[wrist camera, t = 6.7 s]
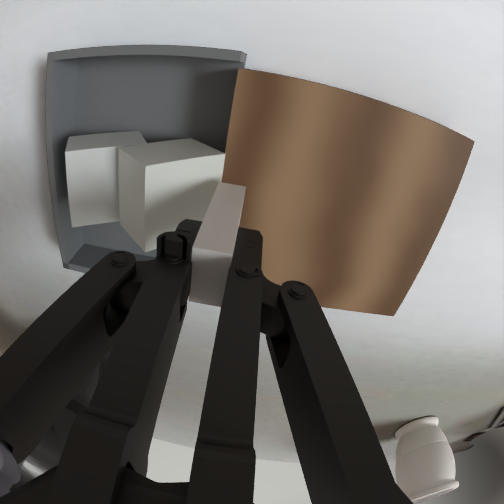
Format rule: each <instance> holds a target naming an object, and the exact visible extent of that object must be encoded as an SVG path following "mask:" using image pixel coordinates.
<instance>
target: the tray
mask: <svg viewBox="0 0 504 504" xmlns="http://www.w3.org/2000/svg"><path fill="white" fill-rule="evenodd" d="M246 56H247V54H246V53H244V52H242V51H235V50H227V49H218V48H207V47H194V46H176V45H120V46H102V47H90V48H80V49H71V50H63V51H56V52H50V53H48V58H47V72H46V100H45V119H46V147H47V162H48V173H49V183H50V192H51V200H52V207H53V214H54V220H55V226H56V232H57V238H58V243H59V248H60V253H61V258H62V262H63V267H64V268H67V269H71V270H75V271H79V272H83V273H87V272H88V271H89V270H90V269H91V268H92V267H93V266H94V265H96V264H97V263H98V262H99V261H100V260H101V259H102V258H104V257H105V256H106V255H107V254H109V253H111V252H114V251H128V252H130V253H132V254H133V255H134V256H135V258H136V261H148V260H153V259H155V258H156V256H157V249H154V250H151V251H148V252H144V251H143V250H142V248H141V247H140V246H139V245H138V244H137V243H136V242H135V241H134V240H133V238H132V237H131V236H130V235H129V234H128V233H127V232H126V231H125V230H124V228H123V227H122V226H121V225H120V221H116V222H109V223H101V224H94V225H86V226H79V227H72V223H71V215H70V207H69V198H68V188H67V175H66V160H65V150H66V146H67V142H68V138H69V137H71V136H80V135H90V134H100V133H113V132H128V131H140V133H141V134H142V136H143V138H144V139H145V141H146V142H147V143H154V142H161V141H169V140H177V139H187V138H192V139H194V140H197V141H199V142H201V143H203V144H205V145H208V146H210V147H212V148H214V149H216V150H219V151H221V152H223V153H225V149H226V142H227V136H228V129H229V123H230V116H231V110H232V104H233V98H234V92H235V86H236V80H237V75H238V69H244V67H245V61H246Z"/></svg>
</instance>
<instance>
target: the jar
mask: <svg viewBox="0 0 504 504" xmlns="http://www.w3.org/2000/svg"><path fill="white" fill-rule="evenodd" d="M438 421H439V420H438V418H437V417H424V418H420V419H417V420H414V421H412V422H410V423H408V424H406V425H404V426H402V427H401V428H399V429H398V430H397V431H396V433H395V436H396V438H397V439H398V440H399V442H398V444H397V448H396V468H395V470H396V471H395V472H396V480H397V485H398V486H399V488H400V489H401V490H402V491H403V492H404V493H405V494H406V496H407V497H408V498H409V499H410V500H411V501H412V502H413V504H417V503H421V502H424V501H427V500H430V499H433V498H436V497H438V496H441V495H444V494H446V493H448V492H450V491H452V490H454V489H456V488H457V487H458V486H459V483H458V481H455V461H454V456H453V453H452V450H451V448H450V445H449V444H448V441H447V439H446V436H445V435H444V433H443V432H442V430H441V429H440V428H439V427H437V425H438Z"/></svg>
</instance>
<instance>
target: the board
mask: <svg viewBox="0 0 504 504" xmlns="http://www.w3.org/2000/svg"><path fill="white" fill-rule="evenodd" d="M474 142H475V141H473V140H471V139H469V138H467V137H465V136H463V135H461V134H459V133H457V132H455V131H453V130H451V129H449V128H447V127H445V126H443V125H440V124H438V123H436V122H434V121H431V120H429V119H426V118H424V117H422V116H419V115H417V114H414V113H411V112H409V111H406V110H404V109H401V108H398V107H395V106H393V105H390V104H387V103H384V102H381V101H378V100H375V99H372V98H369V97H366V96H363V95H360V94H356V93H353V92H350V91H346V90H343V89H339V88H335V87H332V86H328V85H324V84H320V83H316V82H312V81H307V80H303V79H299V78H294V77H289V76H284V75H279V74H274V73H268V72H263V71H257V70H250V69H238V75H237V80H236V86H235V92H234V98H233V104H232V110H231V116H230V123H229V129H228V136H227V142H226V149H225V161H224V168H223V175H222V183H228V184H234V185H240V186H245V187H246V190H245V195H244V201H243V206H242V212H241V218H240V223H239V227H242V228H247V229H253V230H258V231H260V233H261V235H262V236H263V248H262V267H261V269H262V272H263V275H264V276H265V277H266V278H267V279H268V280H270V281H271V282H273V283H275V284H278V285H280V286H281V285H282V283H284V282H286V281H291V280H294V281H300V282H302V283H305V284H307V285H308V286H309V287H311V289H312V290H313V292H314V294H315V296H316V298H317V300H318V302H319V304H320V306H321V307H326V308H334V309H341V310H348V311H356V312H364V313H372V314H380V315H388V316H394V315H395V313H396V312H397V310H398V308H399V306H400V305H401V303H402V301H403V300H404V298H405V296H406V294H407V293H408V291H409V289H410V287H411V286H412V284H413V282H414V280H415V278H416V276H417V275H418V273H419V271H420V269H421V267H422V265H423V263H424V261H425V259H426V257H427V255H428V253H429V251H430V249H431V247H432V245H433V243H434V241H435V239H436V237H437V235H438V233H439V231H440V228H441V226H442V224H443V222H444V220H445V217H446V215H447V213H448V210H449V208H450V206H451V203H452V201H453V199H454V196H455V194H456V191H457V189H458V186H459V184H460V181H461V179H462V176H463V173H464V171H465V168H466V165H467V162H468V159H469V157H470V154H471V151H472V148H473V145H474Z"/></svg>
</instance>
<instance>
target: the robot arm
mask: <svg viewBox="0 0 504 504" xmlns="http://www.w3.org/2000/svg"><path fill="white" fill-rule="evenodd" d="M245 190H246V187H245V186H240V185H234V184H228V183H222V182H219V183H218V186H217V188H216V190H215V193H214V195H213V197H212V200H211V202H210V205H209V207H208V210H207V212H206V214H205V217H204V219H203V221H197V220H191V219H185V220H183V221H182V222H180V223H179V224H178V226H177V228H176V230H175V231H169V232H164V233H162V234H160V235H159V236H158V237H157V256H156V258H155V259H153V260H148V261H136V258H135V256H134V255H133V254H132V253H130V252H128V251H114V252H111V253H109V254H107V255H106V256H105V257H104V258H102V259H101V260H100V261H99V262H98V263H97V264H96V265H94V266H93V267H92V268H91V269H90V270H89V271H88V272H87V273H85V274H84V275H83V276H82V277H81V278H80V279H79V280H78V281H77V282H75V283H74V284H73V285H72V286H71V287H70V288H69V289H68V290H67V291H66V292H65V293H63V294H62V295H61V296H60V297H59V298H58V299H57V300H56V301H55V302H54V303H53V304H52V305H51V306H50V307H49V308H48V309H47V310H46V311H45V312H44V313H43V314H42V315H41V316H40V317H38V318H37V319H36V320H35V321H34V322H33V323H32V324H31V325H30V326H29V327H28V329H27V330H26V331H25V332H24V333H23V334H22V335H21V336H20V337H19V338H18V339H17V340H16V341H15V342H14V343H13V344H12V345H11V346H10V347H9V348H8V349H7V350H6V352H5V353H4V354H3V355H2V356H1V357H0V504H254V503H253V492H254V479H255V478H254V477H255V461H256V455H255V450H254V448H253V436H254V421H255V406H256V390H257V374H258V357H259V340H260V332H261V333H264V334H266V340H267V344H268V348H269V351H270V355H271V359H272V362H273V366H274V370H275V373H276V377H277V381H278V384H279V388H280V392H281V395H282V399H283V403H284V406H285V410H286V414H287V417H288V421H289V424H290V428H291V432H292V435H293V439H294V442H295V446H296V450H297V453H298V457H299V460H300V464H301V467H302V471H303V474H304V478H305V481H306V485H307V488H308V492H309V495H310V499H311V502H312V504H413V502H412V501H411V500H410V499H409V498H408V497H407V496H406V494H405V493H404V492H403V491H402V490H401V489H400V488H399V486H398V485H397V484H396V483H395V481H394V478H393V476H392V473H391V470H390V468H389V465H388V463H387V460H386V458H385V455H384V453H383V450H382V448H381V445H380V443H379V440H378V438H377V435H376V433H375V430H374V428H373V425H372V423H371V420H370V418H369V416H368V413H367V411H366V408H365V406H364V404H363V401H362V399H361V397H360V394H359V392H358V390H357V387H356V385H355V383H354V380H353V378H352V376H351V373H350V371H349V369H348V366H347V364H346V362H345V360H344V357H343V355H342V353H341V351H340V348H339V346H338V344H337V342H336V339H335V337H334V335H333V333H332V330H331V328H330V326H329V324H328V322H327V319H326V317H325V315H324V313H323V311H322V309H321V306H320V304H319V302H318V300H317V298H316V296H315V294H314V292H313V290H312V289H311V287H309V286H308V285H307V284H305V283H302V282H300V281H294V280H291V281H286V282H284V283H282V285H281V286H280V285H278V284H275V283H273V282H271V281H270V280H268V279H267V278H266V277H265V276H264V275H263V272H262V269H261V267H262V248H263V236H262V235H261V233H260V231H258V230H253V229H247V228H242V227H239V223H240V218H241V212H242V206H243V201H244V195H245ZM188 296H189V301H192V302H197V303H202V304H208V305H213V306H219V307H221V311H220V316H219V322H218V327H217V332H216V337H215V343H214V348H213V353H212V359H211V364H210V370H209V375H208V381H207V386H206V392H205V397H204V403H203V409H202V414H201V420H200V426H199V432H198V437H197V441H196V446H195V451H194V457H193V463H192V469H191V475H190V481H189V482H178V483H158V482H154V481H152V480H150V479H148V478H146V474H147V467H148V453H149V448H150V444H151V440H152V436H153V432H154V428H155V424H156V420H157V416H158V412H159V408H160V404H161V400H162V396H163V392H164V389H165V385H166V381H167V377H168V374H169V370H170V366H171V363H172V359H173V355H174V352H175V348H176V345H177V341H178V338H179V334H180V331H181V327H182V324H183V320H184V317H185V314H186V310H187V300H188Z"/></svg>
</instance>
